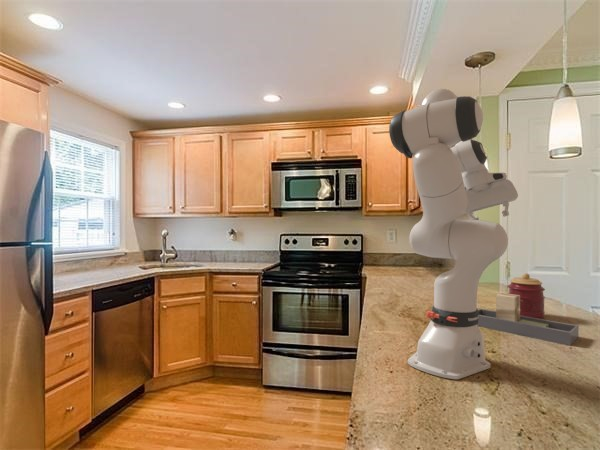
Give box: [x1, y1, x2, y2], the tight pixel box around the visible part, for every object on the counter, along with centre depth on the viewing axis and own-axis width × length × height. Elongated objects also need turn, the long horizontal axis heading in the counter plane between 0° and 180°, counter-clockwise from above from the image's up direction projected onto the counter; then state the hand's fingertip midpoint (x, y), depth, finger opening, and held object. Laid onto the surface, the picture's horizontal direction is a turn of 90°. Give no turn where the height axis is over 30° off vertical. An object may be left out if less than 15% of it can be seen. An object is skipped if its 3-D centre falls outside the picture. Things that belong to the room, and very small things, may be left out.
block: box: [495, 292, 520, 322], centre depth 128 cm, size 6×6×9 cm
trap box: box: [477, 307, 580, 346], centre depth 125 cm, size 12×32×4 cm, turn 42°
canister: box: [507, 272, 546, 319], centre depth 145 cm, size 13×13×18 cm
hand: (491, 219), depth 121 cm, fingers open, 8 cm apart
